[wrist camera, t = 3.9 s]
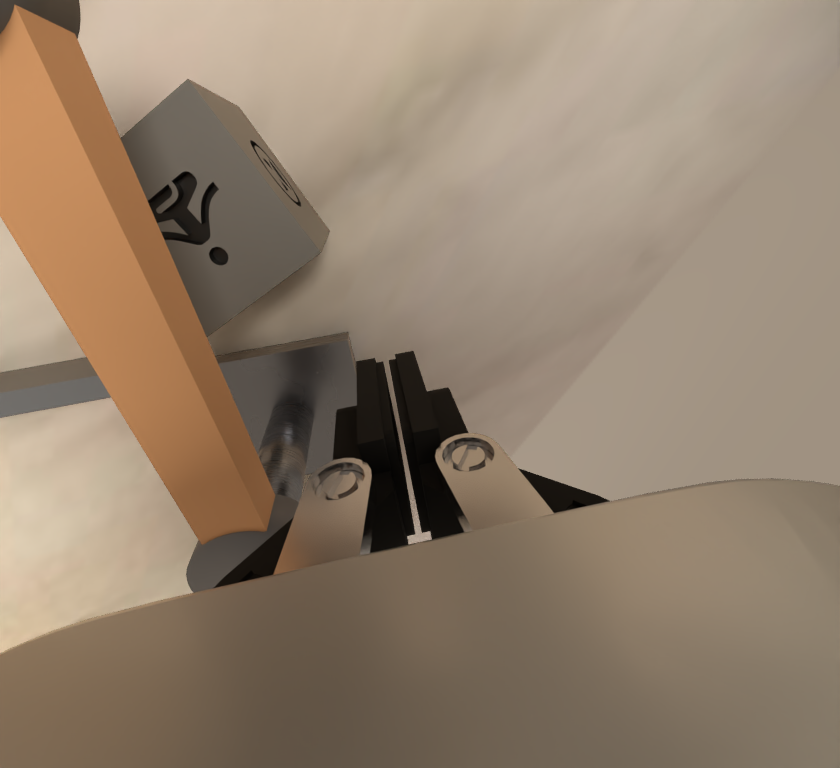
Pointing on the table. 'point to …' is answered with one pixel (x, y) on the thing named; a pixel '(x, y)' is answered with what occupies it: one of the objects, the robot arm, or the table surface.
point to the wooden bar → (123, 286)
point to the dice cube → (221, 202)
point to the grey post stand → (292, 403)
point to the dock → (49, 387)
